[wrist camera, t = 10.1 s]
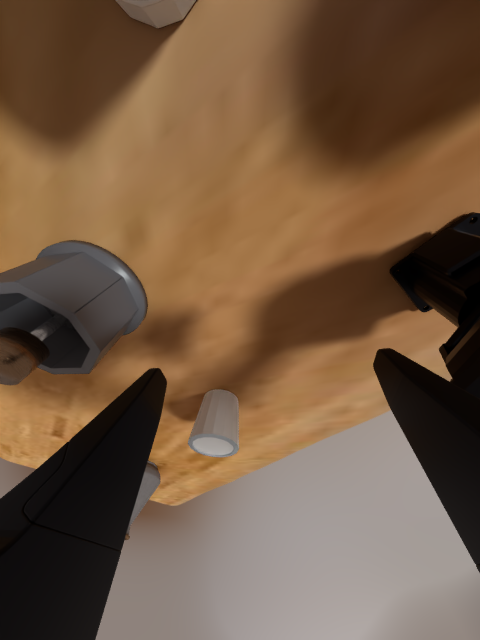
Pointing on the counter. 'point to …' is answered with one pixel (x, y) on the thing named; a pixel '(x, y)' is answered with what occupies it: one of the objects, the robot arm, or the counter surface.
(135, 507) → the coffee pot
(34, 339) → the plunger
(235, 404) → the shot glass
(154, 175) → the counter surface
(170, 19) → the white cup
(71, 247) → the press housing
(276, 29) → the counter surface
